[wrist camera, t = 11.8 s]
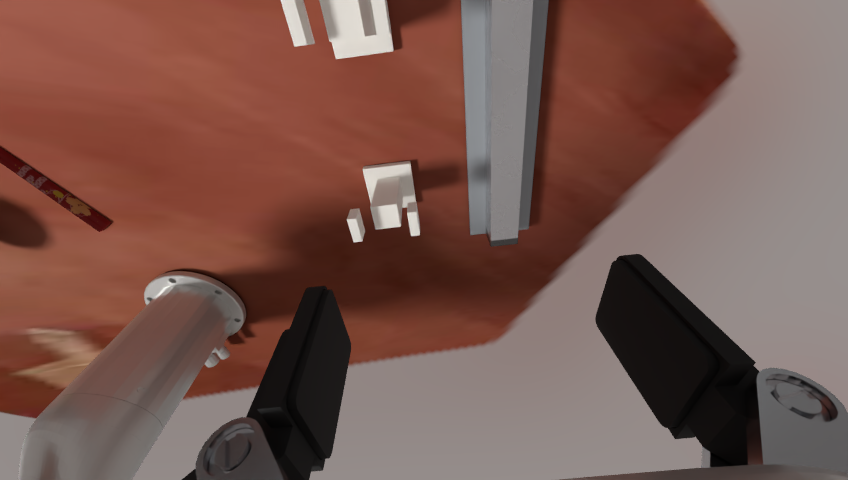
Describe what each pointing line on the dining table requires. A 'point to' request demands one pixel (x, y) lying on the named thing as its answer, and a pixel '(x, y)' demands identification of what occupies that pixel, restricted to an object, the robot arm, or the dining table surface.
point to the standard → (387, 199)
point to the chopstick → (54, 191)
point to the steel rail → (505, 113)
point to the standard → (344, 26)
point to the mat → (476, 108)
